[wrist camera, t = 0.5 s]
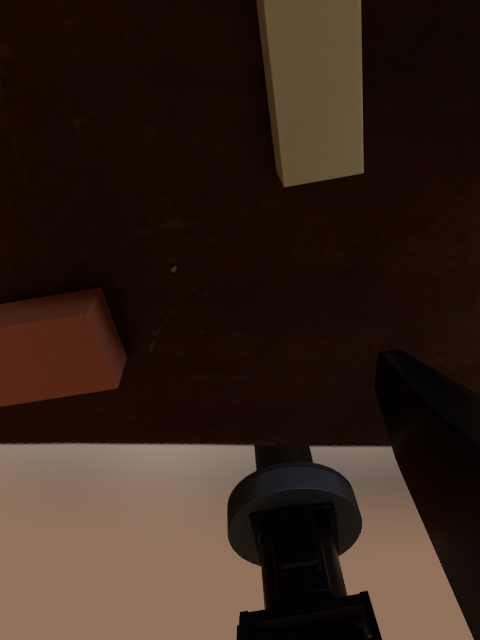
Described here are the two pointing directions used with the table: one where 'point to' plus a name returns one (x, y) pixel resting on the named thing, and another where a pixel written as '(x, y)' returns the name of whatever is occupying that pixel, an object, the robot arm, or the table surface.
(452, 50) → the table surface
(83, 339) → the reddish brown rectangular block
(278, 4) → the beige letter-shaped block
